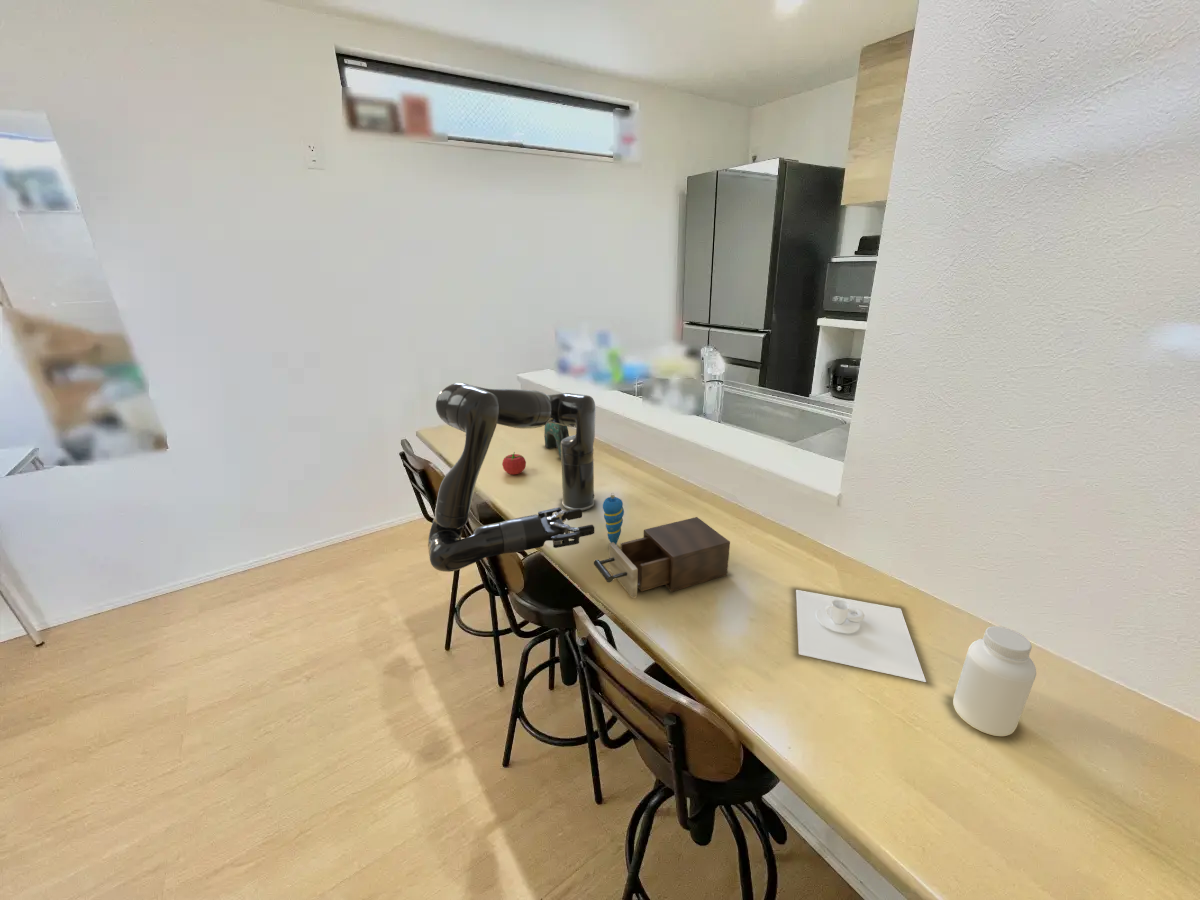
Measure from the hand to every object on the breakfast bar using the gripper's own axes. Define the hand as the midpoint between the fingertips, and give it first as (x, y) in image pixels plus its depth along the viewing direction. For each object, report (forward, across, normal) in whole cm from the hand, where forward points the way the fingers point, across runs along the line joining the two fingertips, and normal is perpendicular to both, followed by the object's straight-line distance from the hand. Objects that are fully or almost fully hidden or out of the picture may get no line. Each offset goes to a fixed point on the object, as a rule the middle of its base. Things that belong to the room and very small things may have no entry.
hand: (587, 520), depth 117 cm
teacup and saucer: (+37, -45, +9) cm, 59 cm away
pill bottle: (+40, -67, +9) cm, 79 cm away
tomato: (-5, +56, +9) cm, 57 cm away
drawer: (+6, -15, +8) cm, 18 cm away
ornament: (+7, 0, +9) cm, 11 cm away
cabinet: (+18, -15, +9) cm, 25 cm away
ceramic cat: (+14, +70, +9) cm, 72 cm away
